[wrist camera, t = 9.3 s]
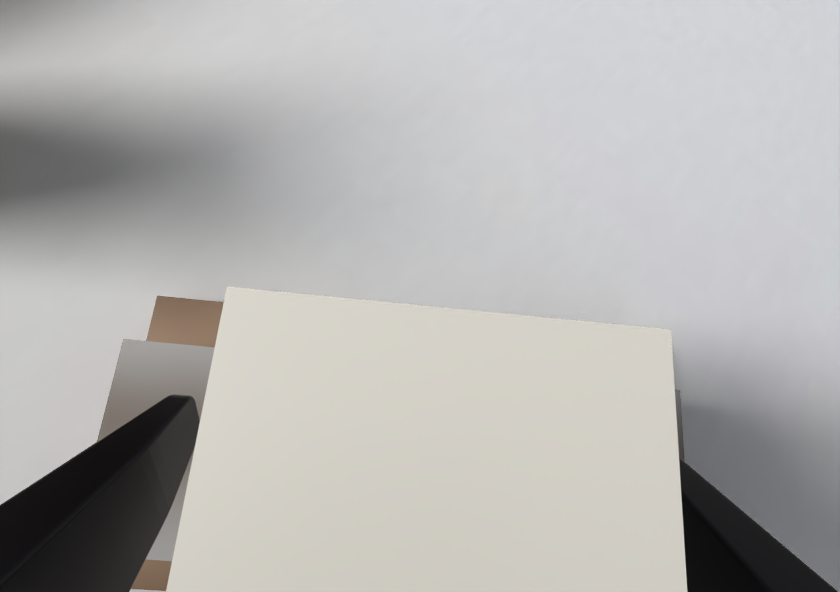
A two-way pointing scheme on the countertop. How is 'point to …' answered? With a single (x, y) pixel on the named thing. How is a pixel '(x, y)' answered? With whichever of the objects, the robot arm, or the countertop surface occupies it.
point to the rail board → (186, 333)
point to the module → (430, 453)
